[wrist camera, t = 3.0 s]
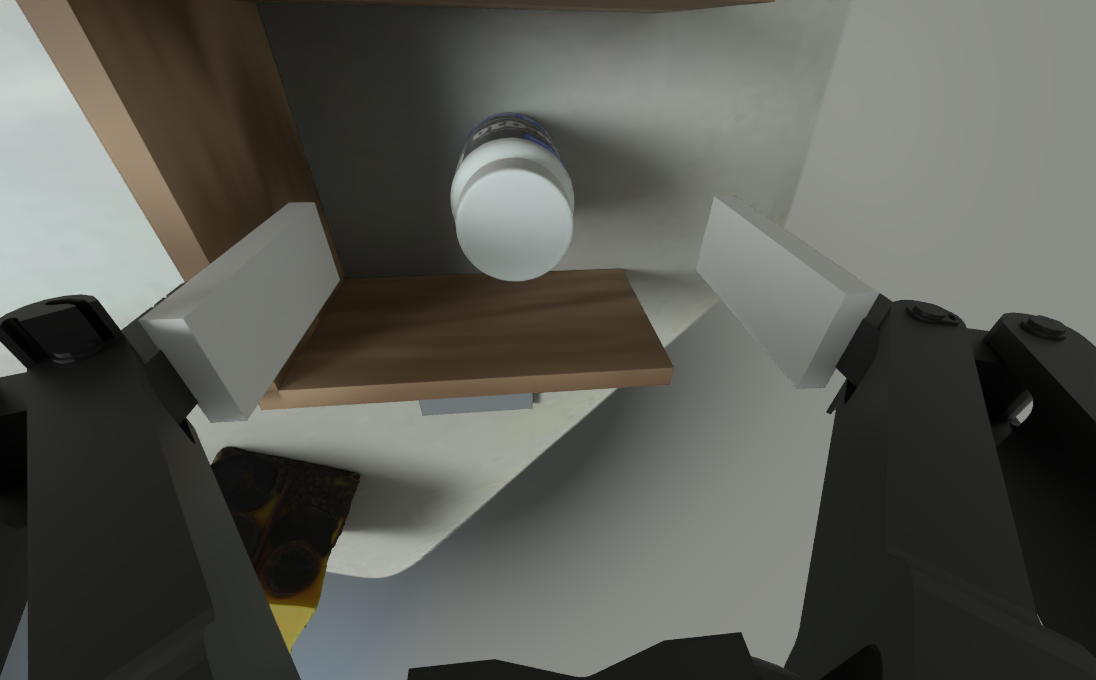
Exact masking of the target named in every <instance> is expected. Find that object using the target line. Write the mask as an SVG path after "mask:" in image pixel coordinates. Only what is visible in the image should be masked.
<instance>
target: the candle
mask: <svg viewBox="0 0 1096 680" xmlns="http://www.w3.org/2000/svg"><path fill="white" fill-rule="evenodd" d="M210 466H211V469H212V471H213V473H214V476H215V478H216V480H217V483H218V485H219V487H220V490H221V492H222V494H223V497H224V499H225V502H226V504H227V506H228V509H229V511H230V513H231V516H232V518H233V520H234V523H235V525H236V528H237V530H238V532H239V535H240V537H241V539H242V542H243V544H244V546H245V549H246V551H247V554H248V556H249V558H250V561H251V563H252V565H253V568H254V570H255V572H256V575H257V577H258V580H259V582H260V584H261V587H262V589H263V591H264V594H265V596H266V598H267V601H268V603H269V606H270V608H271V610H272V613H273V615H274V617H275V620H276V622H277V624H278V627H279V629H280V632H281V634H282V636H283V639H284V641H285V643H286V646H287V648H288V650H289V653H290V655H291V651H292V645H293V644H294V643H295V641H296V640H297V638H298V636H299V634H300V633H301V631H302V629H303V628H305V627H306V624H307V623H308V621H309V620H310V619H311V617H312V616H313V614H314V613H315V611H316V608H317V605H318V602H319V599H320V595H321V590H322V585H323V580H324V576H325V572H326V568H327V561H328V558H329V556H330V553H331V550H332V548H334V546H335V544H336V542H337V539H338V537H339V536H340V535H341V533H342V529H343V526H344V525H345V521H346V518H347V516H348V513H349V510H350V506H351V502H352V499H353V497H354V495H355V492H356V490H357V486H358V483H359V482H360V481H359V479H360V475H358V474H357V473H349V472H346V471H341V470H335V469H332V468H329V467H325V466H318V465H312V464H308V463H305V462H297V461H291V460H289V459H286V458H279V457H272V456H266V455H261V454H256V453H252V452H247V451H243V450H239V449H235V448H223V449H221V450H220V451H219V452H218V453H217V455H216V457H215V459H214V461H213V463H212V464H211V465H210Z"/></svg>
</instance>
